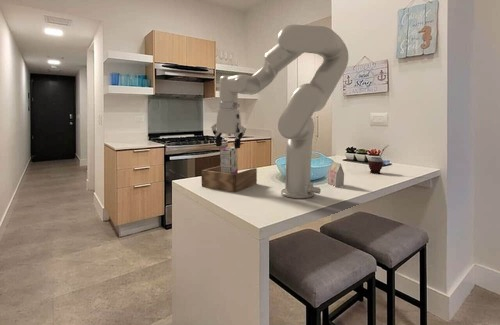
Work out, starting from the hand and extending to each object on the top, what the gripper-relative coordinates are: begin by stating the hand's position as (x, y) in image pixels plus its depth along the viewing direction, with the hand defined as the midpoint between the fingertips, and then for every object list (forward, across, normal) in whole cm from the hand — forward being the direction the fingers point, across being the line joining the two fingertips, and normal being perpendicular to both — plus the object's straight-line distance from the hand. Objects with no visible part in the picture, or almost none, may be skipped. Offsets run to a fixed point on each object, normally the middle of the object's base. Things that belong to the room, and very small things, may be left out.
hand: (227, 147), depth 131 cm
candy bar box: (+17, -1, 0) cm, 17 cm away
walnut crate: (+17, -1, 0) cm, 17 cm away
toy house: (+16, -40, -25) cm, 50 cm away
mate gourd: (+16, -50, -63) cm, 82 cm away
